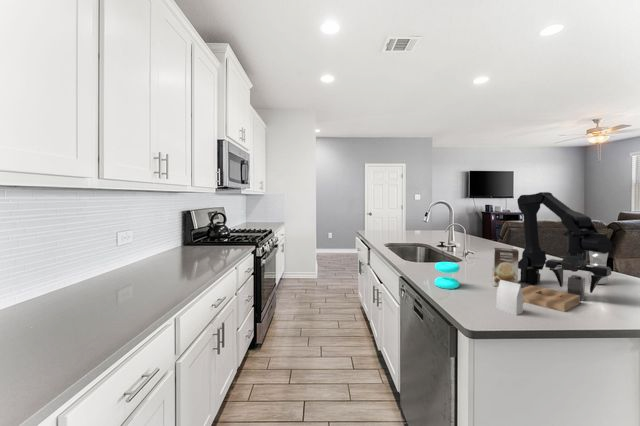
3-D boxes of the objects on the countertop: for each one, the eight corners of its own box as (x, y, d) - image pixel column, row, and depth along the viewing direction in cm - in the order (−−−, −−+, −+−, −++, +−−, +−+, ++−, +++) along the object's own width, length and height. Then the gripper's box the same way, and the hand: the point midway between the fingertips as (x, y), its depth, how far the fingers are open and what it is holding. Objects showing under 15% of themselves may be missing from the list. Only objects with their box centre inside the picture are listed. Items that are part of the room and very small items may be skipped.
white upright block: (516, 315, 104) (517, 285, 103) (496, 309, 110) (496, 280, 109) (522, 313, 106) (523, 283, 105) (502, 307, 112) (503, 279, 111)
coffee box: (493, 286, 137) (493, 249, 136) (492, 282, 143) (492, 247, 142) (517, 289, 133) (518, 251, 132) (515, 285, 139) (516, 248, 138)
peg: (567, 298, 121) (568, 275, 120) (571, 296, 123) (572, 274, 122) (581, 301, 117) (581, 278, 117) (585, 299, 119) (585, 276, 119)
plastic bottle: (611, 286, 136) (613, 239, 135) (593, 285, 137) (595, 239, 136) (601, 282, 142) (603, 237, 141) (584, 281, 143) (585, 237, 142)
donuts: (441, 260, 144) (463, 263, 137) (441, 282, 145) (463, 286, 137) (430, 263, 138) (452, 267, 130) (430, 286, 138) (452, 291, 131)
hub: (513, 299, 120) (513, 290, 120) (530, 292, 127) (530, 284, 127) (564, 311, 106) (564, 302, 106) (579, 303, 114) (579, 294, 114)
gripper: (539, 247, 122) (538, 287, 123) (602, 254, 107) (600, 300, 108) (551, 245, 129) (550, 283, 129) (612, 251, 113) (610, 294, 114)
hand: (575, 289), depth 120 cm, fingers open, 9 cm apart
